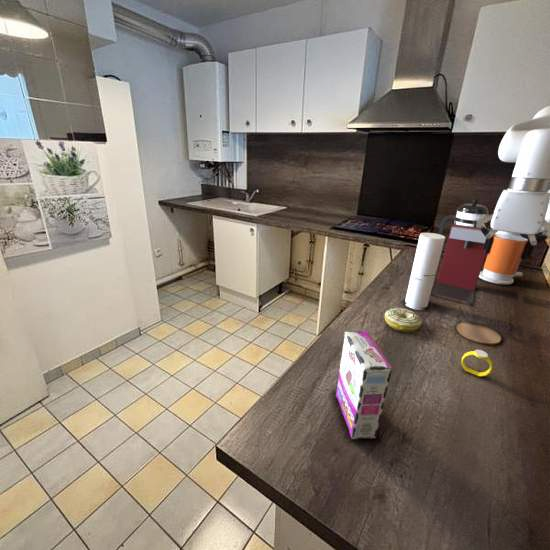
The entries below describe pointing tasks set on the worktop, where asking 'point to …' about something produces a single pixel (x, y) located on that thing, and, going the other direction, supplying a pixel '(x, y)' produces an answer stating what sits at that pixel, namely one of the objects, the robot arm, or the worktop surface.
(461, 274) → the coffee maker
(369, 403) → the candy bar box
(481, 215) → the coffee press
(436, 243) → the cylindrical container
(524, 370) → the worktop surface
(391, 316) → the decorated donut
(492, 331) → the coaster
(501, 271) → the cup
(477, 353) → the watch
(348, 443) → the worktop surface
